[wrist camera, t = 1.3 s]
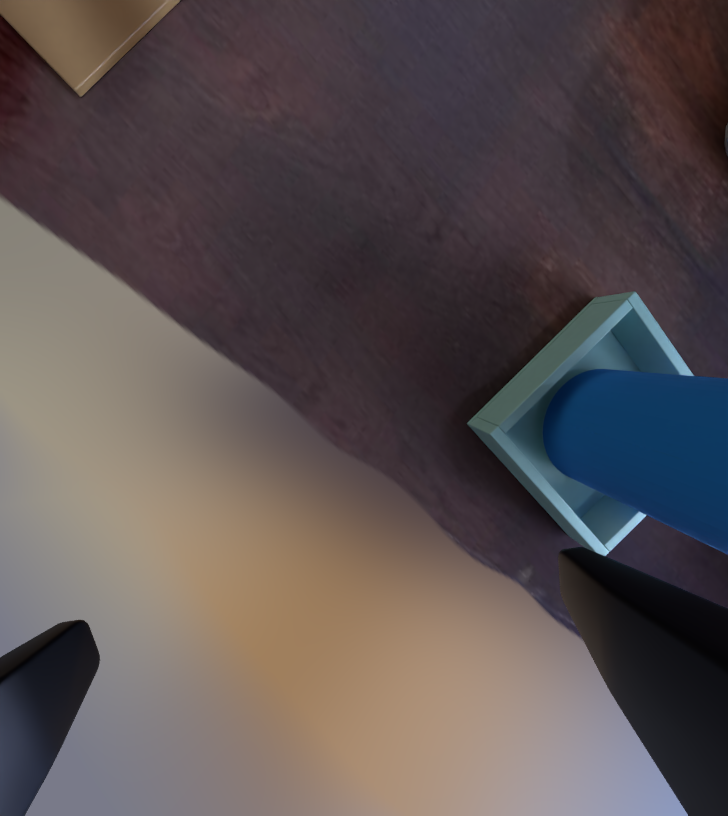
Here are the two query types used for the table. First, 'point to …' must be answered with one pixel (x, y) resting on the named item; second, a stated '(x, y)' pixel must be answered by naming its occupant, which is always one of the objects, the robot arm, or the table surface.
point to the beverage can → (647, 445)
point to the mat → (83, 32)
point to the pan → (539, 381)
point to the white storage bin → (726, 140)
